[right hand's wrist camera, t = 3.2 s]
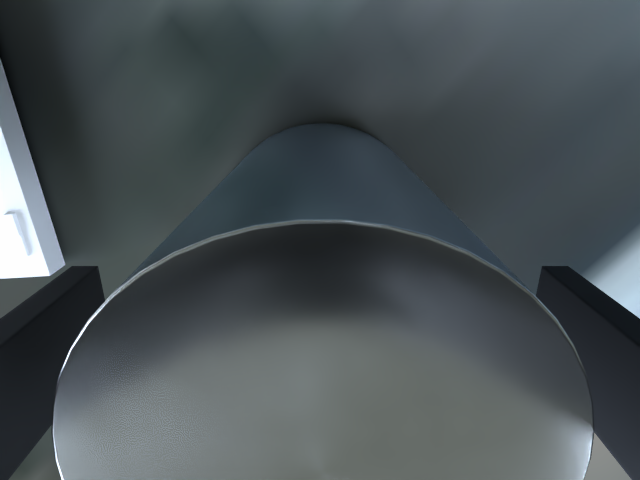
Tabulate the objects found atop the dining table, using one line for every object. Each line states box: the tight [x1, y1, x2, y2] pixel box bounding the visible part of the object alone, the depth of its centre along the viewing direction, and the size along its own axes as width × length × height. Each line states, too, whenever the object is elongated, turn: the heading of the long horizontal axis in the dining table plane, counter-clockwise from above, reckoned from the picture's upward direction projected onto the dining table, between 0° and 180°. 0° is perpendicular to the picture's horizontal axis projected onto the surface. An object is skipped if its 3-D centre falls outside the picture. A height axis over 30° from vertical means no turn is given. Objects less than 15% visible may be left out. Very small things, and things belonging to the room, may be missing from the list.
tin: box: [52, 123, 594, 480], centre depth 13 cm, size 9×9×13 cm
